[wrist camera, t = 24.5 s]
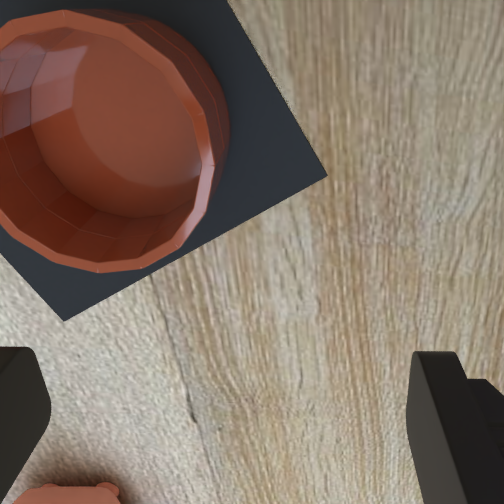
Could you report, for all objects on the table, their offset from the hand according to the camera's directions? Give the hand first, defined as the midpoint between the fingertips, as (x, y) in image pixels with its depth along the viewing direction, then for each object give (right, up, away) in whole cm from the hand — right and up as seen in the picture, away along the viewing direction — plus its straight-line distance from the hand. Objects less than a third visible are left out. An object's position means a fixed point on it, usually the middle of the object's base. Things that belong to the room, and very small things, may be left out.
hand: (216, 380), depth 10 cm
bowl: (-6, +9, +16) cm, 19 cm away
